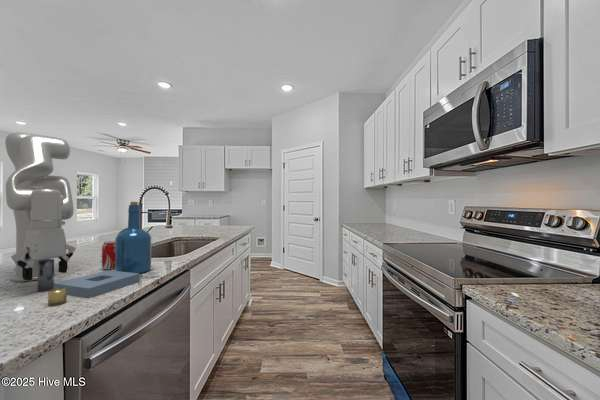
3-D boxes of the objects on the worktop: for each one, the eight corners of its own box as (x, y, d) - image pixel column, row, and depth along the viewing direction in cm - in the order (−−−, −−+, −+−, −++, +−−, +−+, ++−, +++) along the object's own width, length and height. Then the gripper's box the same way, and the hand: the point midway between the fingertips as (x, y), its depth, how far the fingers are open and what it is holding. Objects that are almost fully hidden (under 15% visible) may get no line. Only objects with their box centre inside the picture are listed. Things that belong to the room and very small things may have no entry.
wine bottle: (158, 269, 118) (158, 201, 118) (129, 277, 105) (130, 201, 105) (136, 266, 123) (136, 201, 123) (106, 274, 110) (107, 201, 110)
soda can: (110, 271, 115) (111, 243, 115) (97, 270, 116) (97, 242, 116) (124, 267, 122) (124, 240, 122) (111, 266, 123) (112, 240, 123)
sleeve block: (54, 292, 88) (54, 283, 88) (108, 277, 105) (108, 270, 105) (88, 298, 83) (88, 288, 83) (139, 281, 100) (139, 273, 100)
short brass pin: (44, 305, 77) (44, 291, 77) (60, 300, 81) (60, 287, 81) (53, 307, 76) (53, 293, 76) (69, 302, 79) (69, 288, 80)
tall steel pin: (34, 291, 89) (34, 261, 89) (48, 287, 93) (49, 258, 93) (42, 292, 88) (42, 261, 88) (56, 288, 92) (56, 259, 92)
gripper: (67, 223, 100) (67, 269, 99) (5, 227, 83) (4, 282, 83) (81, 223, 98) (81, 270, 97) (20, 227, 81) (19, 284, 81)
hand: (46, 276), depth 90 cm, fingers open, 9 cm apart
